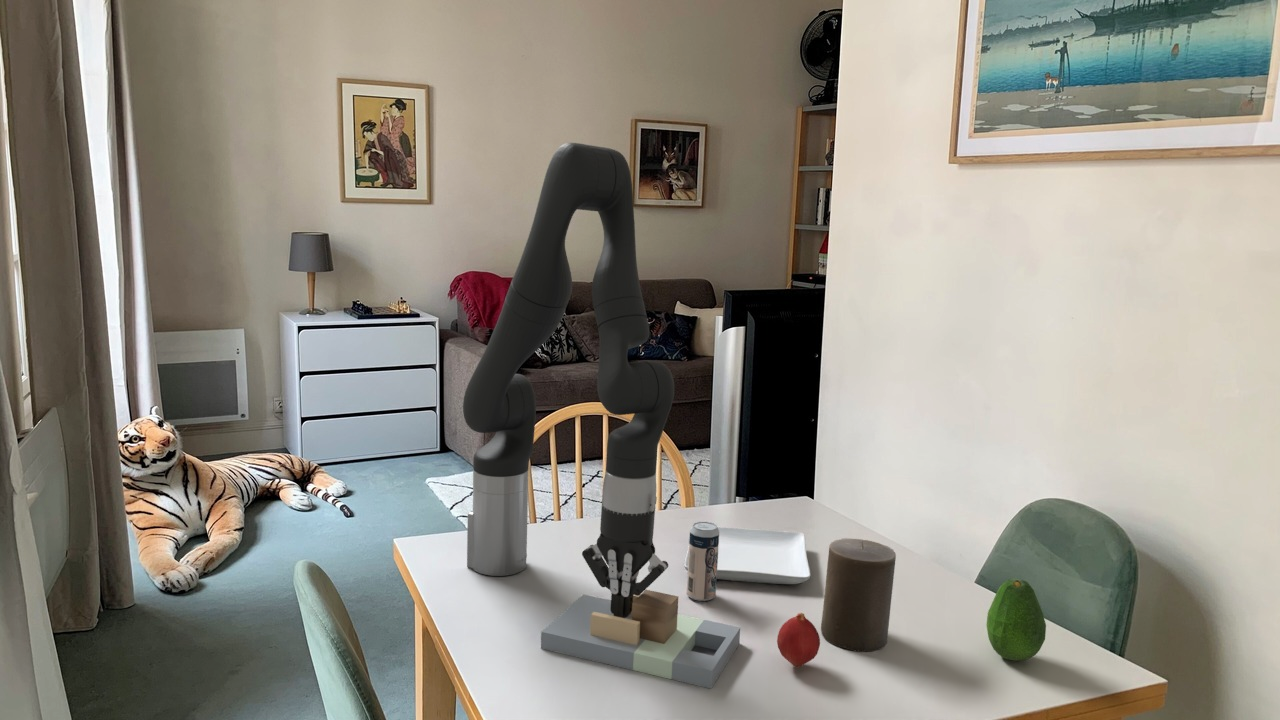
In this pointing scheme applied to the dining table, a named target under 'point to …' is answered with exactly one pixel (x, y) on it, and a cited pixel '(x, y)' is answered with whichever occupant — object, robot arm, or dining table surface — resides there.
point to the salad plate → (761, 556)
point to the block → (656, 615)
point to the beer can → (702, 561)
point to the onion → (798, 640)
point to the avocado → (1016, 621)
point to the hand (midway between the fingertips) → (621, 616)
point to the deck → (642, 642)
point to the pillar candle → (858, 594)
